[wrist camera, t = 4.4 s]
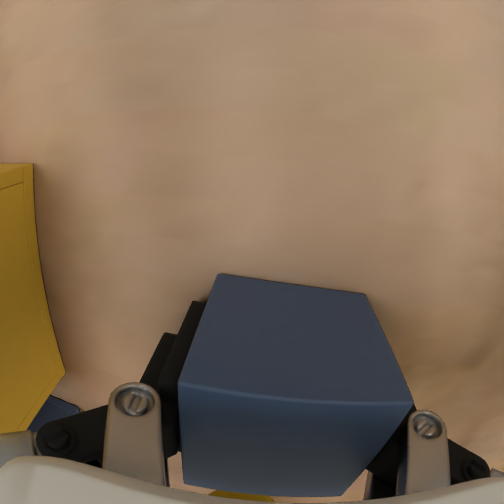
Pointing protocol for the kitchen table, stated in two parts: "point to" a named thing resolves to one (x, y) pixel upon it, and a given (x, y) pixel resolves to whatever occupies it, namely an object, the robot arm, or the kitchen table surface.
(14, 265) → the yellow bin
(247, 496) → the lemon
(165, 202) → the kitchen table surface
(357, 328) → the blue block
